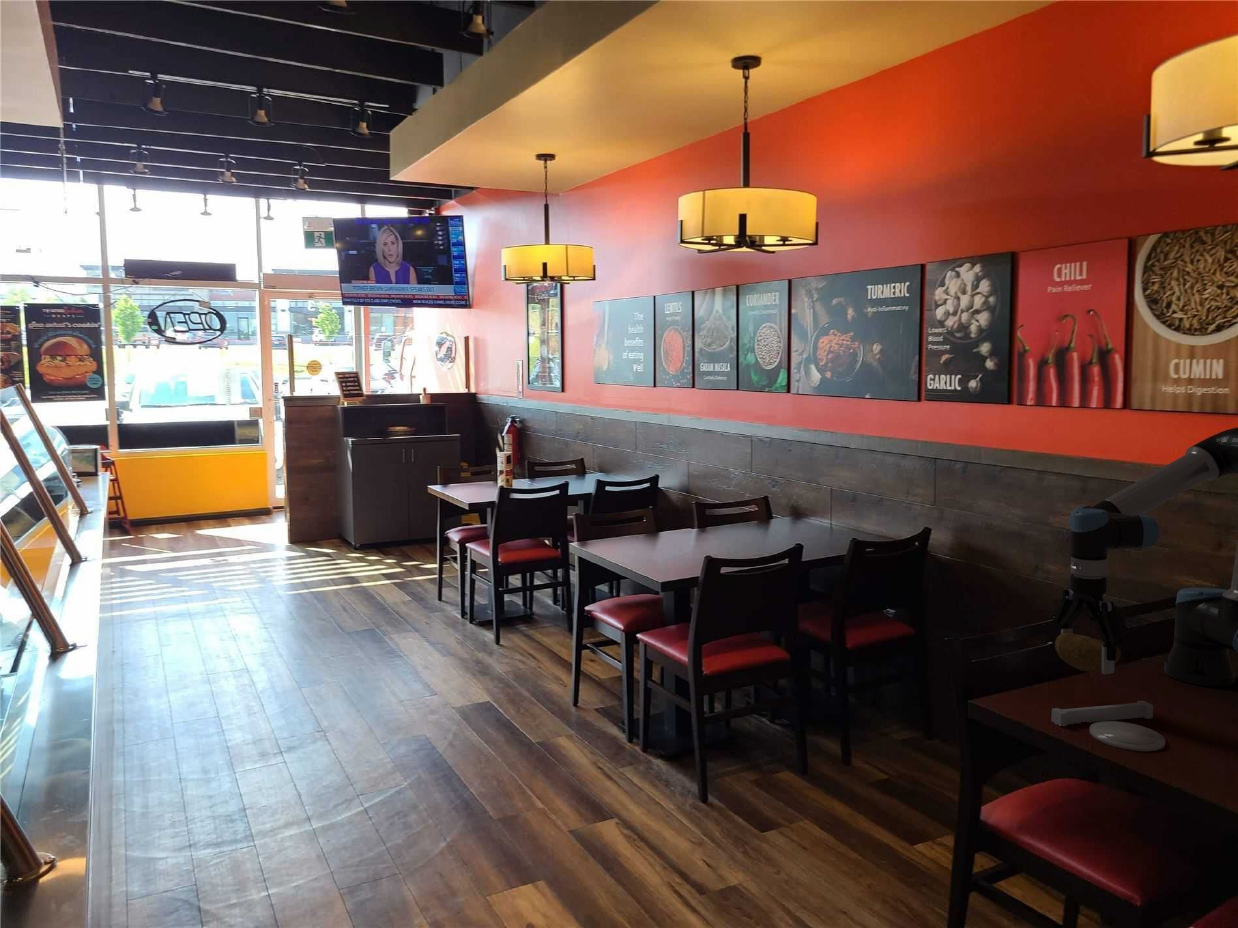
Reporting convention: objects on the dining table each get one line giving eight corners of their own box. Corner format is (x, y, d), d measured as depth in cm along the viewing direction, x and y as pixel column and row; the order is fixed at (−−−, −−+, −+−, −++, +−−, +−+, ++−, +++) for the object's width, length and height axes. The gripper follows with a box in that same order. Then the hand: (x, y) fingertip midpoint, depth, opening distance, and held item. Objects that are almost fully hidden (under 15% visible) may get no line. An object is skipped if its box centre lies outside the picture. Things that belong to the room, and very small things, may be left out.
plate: (1129, 722, 195) (1130, 717, 195) (1181, 748, 181) (1181, 743, 181) (1074, 727, 192) (1075, 722, 192) (1123, 754, 178) (1123, 749, 178)
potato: (1112, 681, 197) (1112, 647, 197) (1047, 667, 208) (1048, 635, 207) (1127, 671, 204) (1128, 637, 203) (1064, 658, 214) (1064, 626, 213)
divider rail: (1142, 713, 200) (1142, 700, 200) (1152, 718, 197) (1153, 705, 197) (1051, 721, 195) (1051, 708, 195) (1060, 726, 193) (1061, 713, 192)
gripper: (1038, 565, 215) (1037, 649, 217) (1114, 588, 191) (1112, 683, 193) (1065, 563, 217) (1063, 646, 219) (1144, 586, 192) (1141, 679, 194)
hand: (1086, 663), depth 206 cm, fingers closed on potato, 13 cm apart
